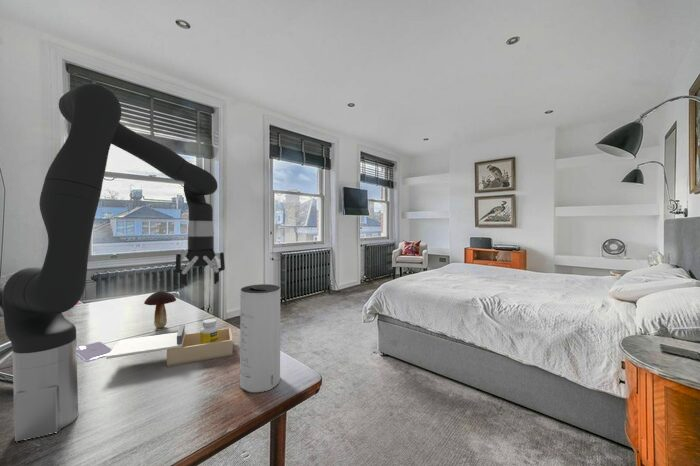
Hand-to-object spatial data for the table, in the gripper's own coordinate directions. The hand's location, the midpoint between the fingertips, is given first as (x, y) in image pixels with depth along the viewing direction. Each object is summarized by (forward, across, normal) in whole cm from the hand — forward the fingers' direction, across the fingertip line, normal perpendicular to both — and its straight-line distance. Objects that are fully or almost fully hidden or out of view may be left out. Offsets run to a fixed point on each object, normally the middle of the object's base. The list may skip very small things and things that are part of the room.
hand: (201, 284), depth 94 cm
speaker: (+23, +16, -26) cm, 38 cm away
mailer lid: (+17, -14, -1) cm, 22 cm away
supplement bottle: (+22, +2, 0) cm, 22 cm away
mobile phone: (+23, -32, +15) cm, 43 cm away
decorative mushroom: (+23, -16, +31) cm, 42 cm away
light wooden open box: (+22, 0, 0) cm, 23 cm away
